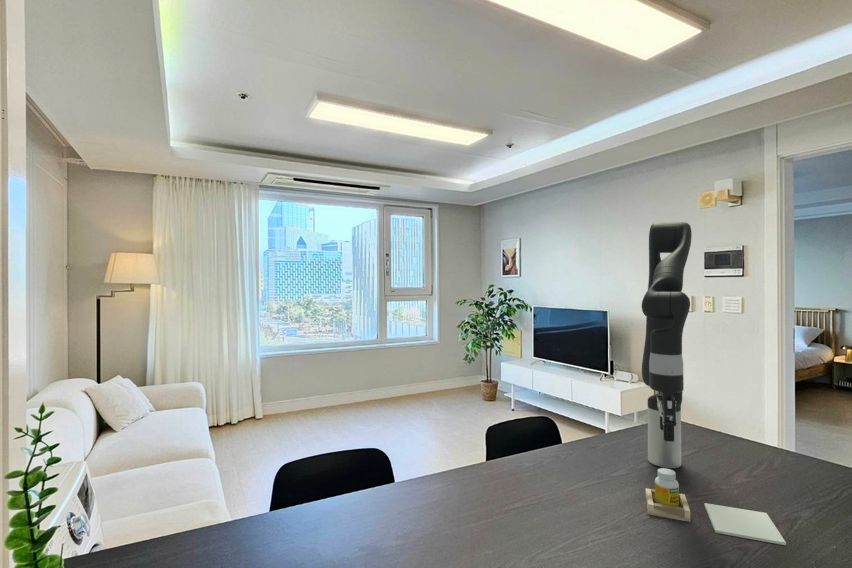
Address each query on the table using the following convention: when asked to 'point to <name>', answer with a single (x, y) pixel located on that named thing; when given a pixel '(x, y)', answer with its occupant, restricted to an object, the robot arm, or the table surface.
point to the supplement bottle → (666, 488)
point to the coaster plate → (743, 523)
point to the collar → (667, 507)
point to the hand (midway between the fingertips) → (666, 435)
